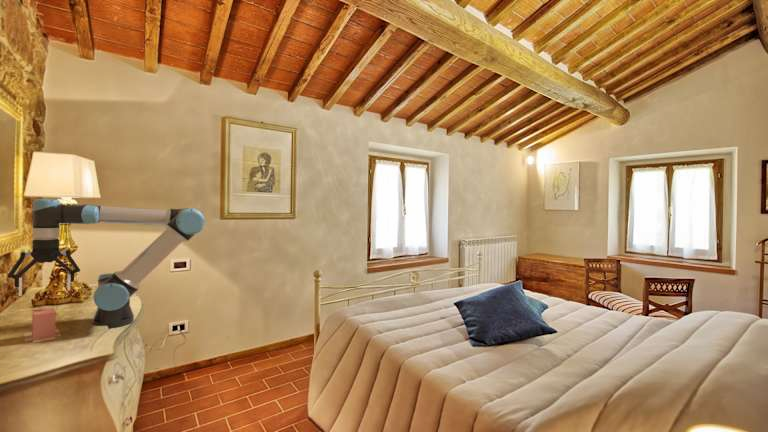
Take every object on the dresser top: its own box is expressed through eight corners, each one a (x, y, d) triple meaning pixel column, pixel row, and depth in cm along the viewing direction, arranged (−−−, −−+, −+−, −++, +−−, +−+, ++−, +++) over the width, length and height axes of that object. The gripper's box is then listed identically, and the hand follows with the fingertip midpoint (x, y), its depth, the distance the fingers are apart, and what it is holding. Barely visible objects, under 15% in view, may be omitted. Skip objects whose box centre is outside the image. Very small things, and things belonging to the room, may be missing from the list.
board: (61, 340, 136) (61, 337, 136) (25, 347, 129) (25, 344, 129) (57, 330, 147) (57, 327, 147) (23, 335, 139) (23, 332, 139)
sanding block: (55, 338, 135) (55, 312, 135) (33, 342, 131) (33, 315, 130) (52, 333, 140) (53, 307, 140) (31, 336, 136) (32, 310, 136)
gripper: (86, 236, 147) (85, 286, 147) (-2, 239, 128) (-3, 295, 129) (89, 238, 142) (88, 289, 142) (-2, 241, 123) (-3, 300, 123)
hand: (45, 292), depth 135 cm, fingers open, 13 cm apart
